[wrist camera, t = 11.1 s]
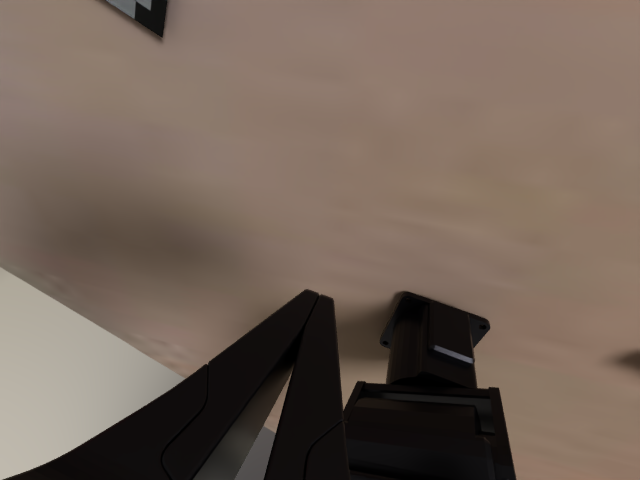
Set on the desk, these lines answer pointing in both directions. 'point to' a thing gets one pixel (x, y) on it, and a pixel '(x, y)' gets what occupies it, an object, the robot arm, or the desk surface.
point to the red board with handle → (145, 12)
